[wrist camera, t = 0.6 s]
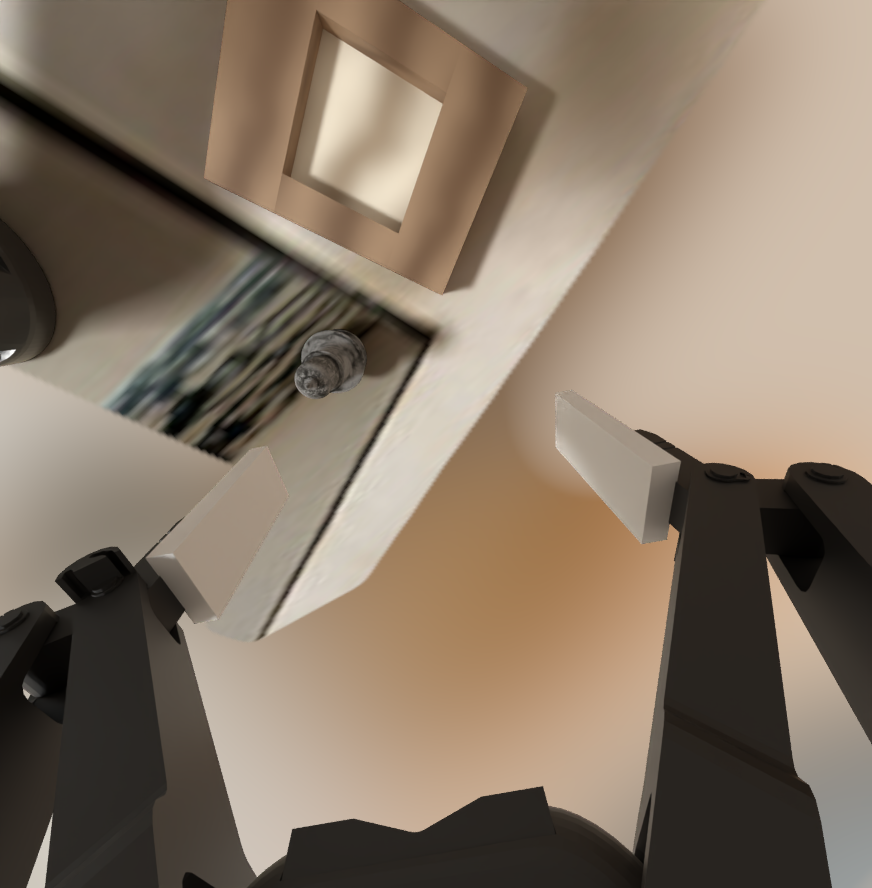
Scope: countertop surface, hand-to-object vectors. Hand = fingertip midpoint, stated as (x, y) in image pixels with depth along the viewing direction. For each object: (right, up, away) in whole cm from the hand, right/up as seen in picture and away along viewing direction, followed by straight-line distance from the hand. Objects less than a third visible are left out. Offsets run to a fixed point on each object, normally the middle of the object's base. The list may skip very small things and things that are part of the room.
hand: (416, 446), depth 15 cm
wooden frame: (-5, +24, +12) cm, 28 cm away
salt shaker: (-9, +9, +20) cm, 23 cm away
